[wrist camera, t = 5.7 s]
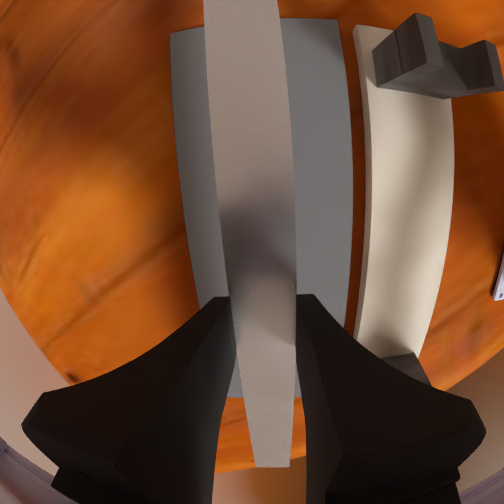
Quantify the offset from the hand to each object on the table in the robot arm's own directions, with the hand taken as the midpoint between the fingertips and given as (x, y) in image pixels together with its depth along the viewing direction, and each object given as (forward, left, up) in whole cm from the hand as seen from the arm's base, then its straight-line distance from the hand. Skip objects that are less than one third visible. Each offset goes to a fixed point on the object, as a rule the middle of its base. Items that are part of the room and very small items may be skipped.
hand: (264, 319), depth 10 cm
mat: (0, 0, -8) cm, 8 cm away
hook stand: (-9, 0, -8) cm, 12 cm away
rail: (0, 0, -2) cm, 2 cm away
